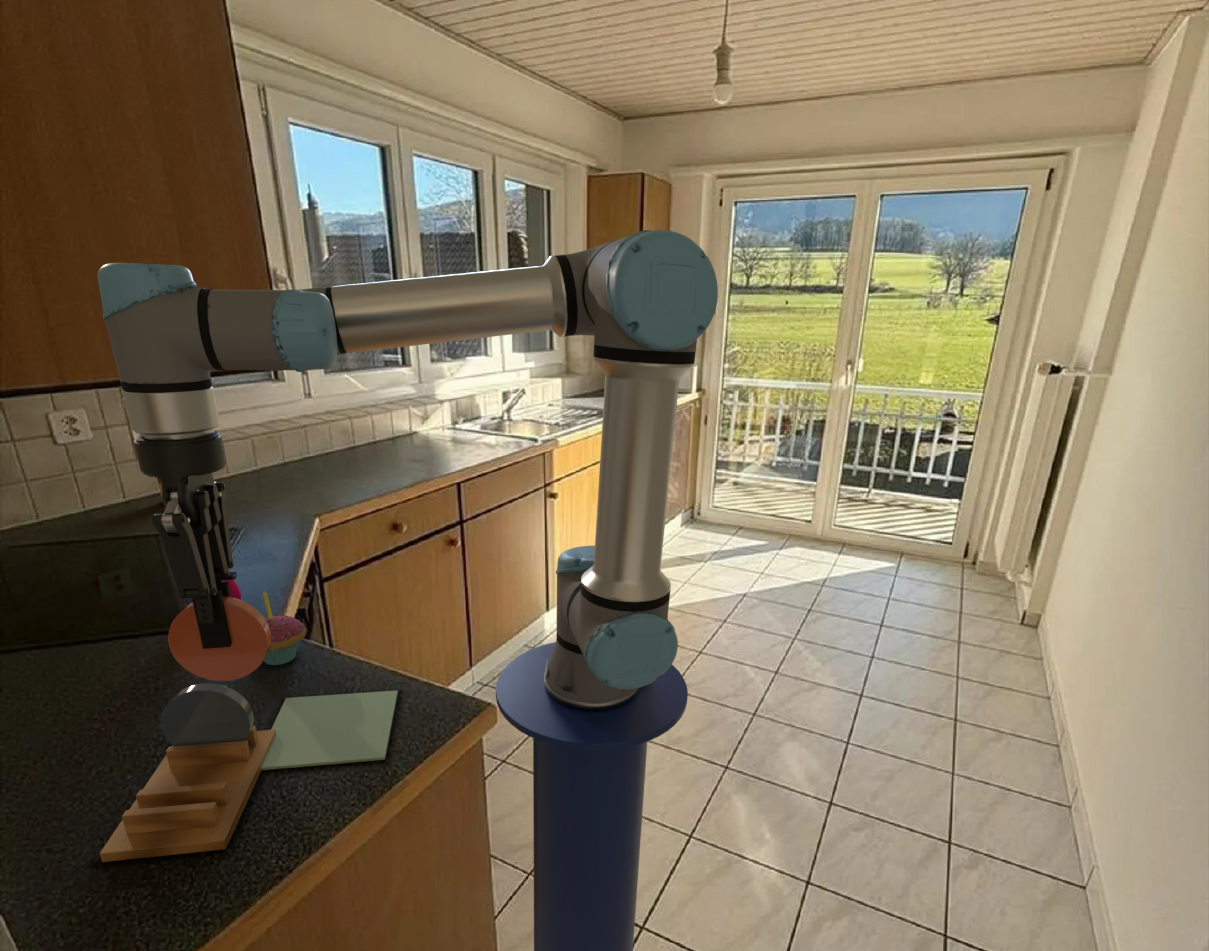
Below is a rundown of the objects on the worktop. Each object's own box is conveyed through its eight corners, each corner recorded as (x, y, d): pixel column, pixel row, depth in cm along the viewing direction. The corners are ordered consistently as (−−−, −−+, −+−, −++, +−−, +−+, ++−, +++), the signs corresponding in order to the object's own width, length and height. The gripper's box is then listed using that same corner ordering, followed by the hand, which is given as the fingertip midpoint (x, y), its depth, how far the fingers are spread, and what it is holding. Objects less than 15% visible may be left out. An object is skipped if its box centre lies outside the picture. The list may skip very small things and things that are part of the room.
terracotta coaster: (277, 670, 77) (264, 593, 74) (273, 678, 76) (260, 599, 72) (183, 677, 75) (165, 597, 72) (177, 684, 74) (159, 604, 70)
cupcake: (240, 661, 108) (228, 594, 103) (288, 640, 114) (278, 577, 110) (272, 676, 104) (261, 608, 99) (319, 654, 110) (311, 589, 106)
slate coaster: (259, 746, 86) (247, 680, 82) (255, 754, 84) (243, 687, 81) (174, 753, 84) (158, 686, 80) (169, 761, 82) (153, 693, 79)
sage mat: (398, 692, 101) (397, 690, 101) (385, 759, 86) (384, 757, 86) (286, 700, 98) (285, 697, 98) (253, 771, 83) (252, 768, 83)
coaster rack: (276, 736, 90) (272, 713, 88) (226, 849, 71) (220, 822, 70) (180, 744, 88) (174, 720, 86) (101, 862, 69) (93, 834, 68)
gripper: (166, 419, 72) (207, 614, 80) (97, 448, 58) (156, 678, 67) (241, 419, 73) (274, 610, 81) (191, 446, 60) (237, 672, 68)
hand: (221, 640), depth 74 cm, fingers closed on terracotta coaster, 2 cm apart
